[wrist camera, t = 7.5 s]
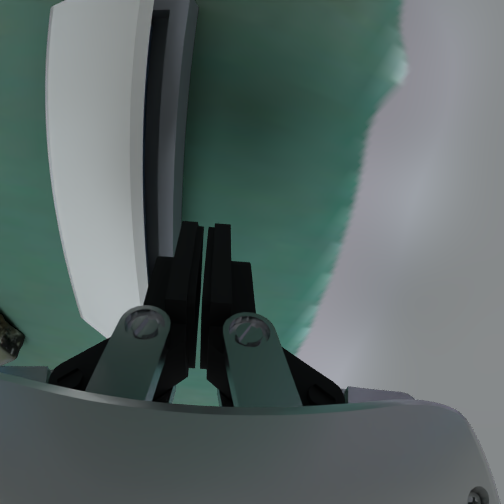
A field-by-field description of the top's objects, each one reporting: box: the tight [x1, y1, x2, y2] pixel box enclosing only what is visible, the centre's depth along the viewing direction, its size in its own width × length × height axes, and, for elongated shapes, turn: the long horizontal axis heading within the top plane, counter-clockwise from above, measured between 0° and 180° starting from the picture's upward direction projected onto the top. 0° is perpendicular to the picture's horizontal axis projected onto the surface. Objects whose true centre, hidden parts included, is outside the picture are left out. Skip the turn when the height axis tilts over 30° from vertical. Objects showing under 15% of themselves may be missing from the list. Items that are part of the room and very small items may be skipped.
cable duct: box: [143, 0, 199, 285], centre depth 21 cm, size 24×7×5 cm, turn 173°
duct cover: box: [45, 0, 154, 339], centre depth 17 cm, size 24×9×1 cm
